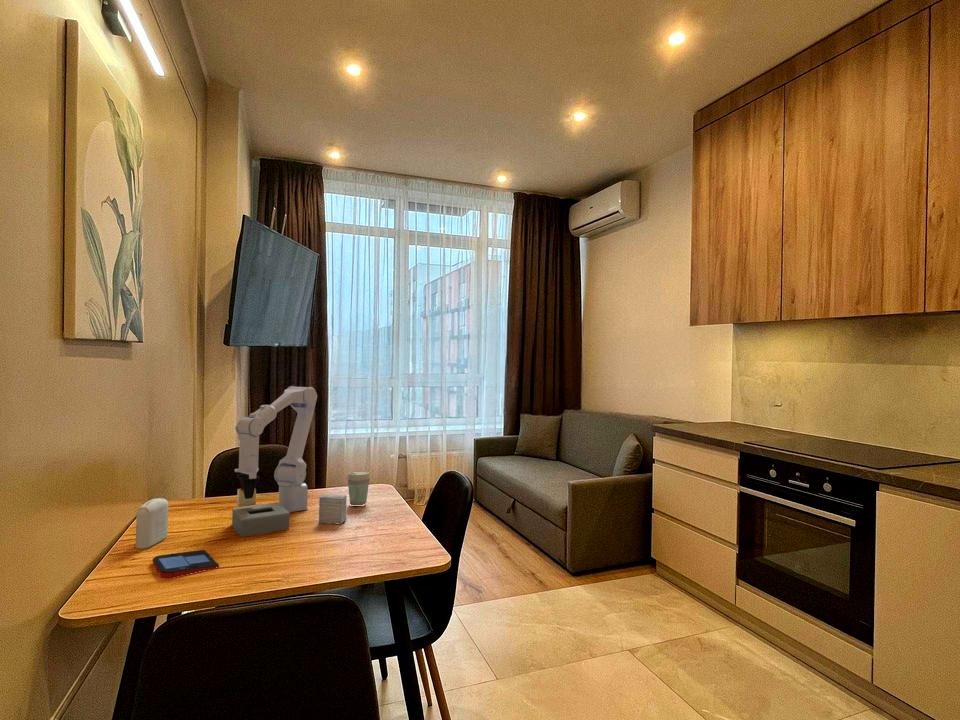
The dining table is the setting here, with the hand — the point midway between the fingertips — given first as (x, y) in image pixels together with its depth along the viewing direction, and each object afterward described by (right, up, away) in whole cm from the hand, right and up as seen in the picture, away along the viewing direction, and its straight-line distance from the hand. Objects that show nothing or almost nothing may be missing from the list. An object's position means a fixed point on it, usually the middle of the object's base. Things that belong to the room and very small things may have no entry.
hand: (247, 497), depth 164 cm
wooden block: (0, -2, 0) cm, 3 cm away
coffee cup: (+29, -10, +26) cm, 40 cm away
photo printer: (-19, -9, -18) cm, 28 cm away
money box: (+5, -9, -2) cm, 10 cm away
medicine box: (+26, -10, +5) cm, 28 cm away
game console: (-1, -9, -33) cm, 35 cm away
